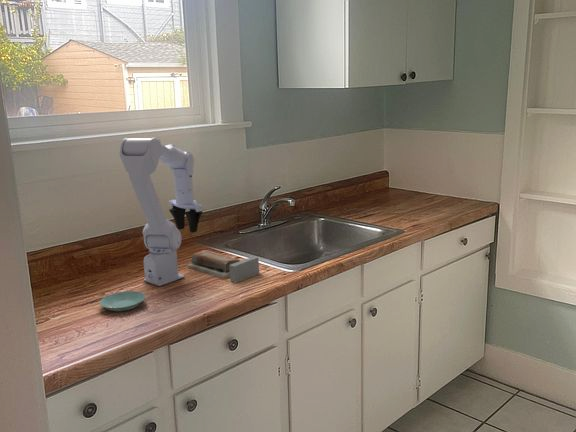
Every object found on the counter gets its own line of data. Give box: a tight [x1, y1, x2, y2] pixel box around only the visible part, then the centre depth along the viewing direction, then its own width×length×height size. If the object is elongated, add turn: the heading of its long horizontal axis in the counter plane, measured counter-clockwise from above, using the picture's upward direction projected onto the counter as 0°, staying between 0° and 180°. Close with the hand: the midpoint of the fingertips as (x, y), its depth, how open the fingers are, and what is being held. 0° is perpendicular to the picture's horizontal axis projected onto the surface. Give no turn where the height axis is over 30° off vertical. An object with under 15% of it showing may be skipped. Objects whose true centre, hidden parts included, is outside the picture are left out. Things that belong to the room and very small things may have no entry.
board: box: [229, 256, 260, 283], centre depth 173 cm, size 10×2×5 cm, turn 138°
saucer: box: [99, 290, 147, 312], centre depth 156 cm, size 12×12×2 cm
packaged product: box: [187, 249, 241, 280], centre depth 182 cm, size 18×5×10 cm
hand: (187, 230), depth 189 cm, fingers open, 6 cm apart
